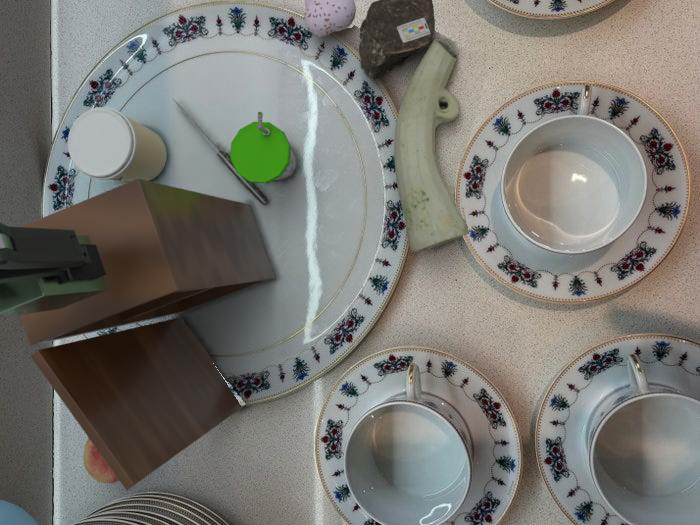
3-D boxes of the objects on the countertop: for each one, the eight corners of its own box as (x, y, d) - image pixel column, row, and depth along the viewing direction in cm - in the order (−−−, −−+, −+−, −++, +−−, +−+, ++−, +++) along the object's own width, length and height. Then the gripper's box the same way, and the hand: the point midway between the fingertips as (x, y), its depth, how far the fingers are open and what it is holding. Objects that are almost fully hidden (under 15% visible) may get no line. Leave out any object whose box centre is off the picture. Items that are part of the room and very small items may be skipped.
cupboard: (276, 277, 94) (177, 290, 61) (177, 313, 97) (30, 345, 64) (250, 204, 95) (138, 178, 62) (152, 242, 97) (-7, 237, 64)
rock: (427, -15, 87) (451, 42, 86) (408, 13, 93) (430, 65, 93) (357, 5, 84) (381, 63, 83) (343, 32, 90) (366, 86, 90)
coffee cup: (100, 160, 99) (51, 148, 87) (138, 110, 97) (94, 91, 86) (146, 200, 97) (103, 193, 86) (185, 150, 96) (146, 136, 85)
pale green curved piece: (404, 254, 91) (477, 246, 90) (405, 254, 83) (486, 245, 82) (381, 49, 91) (454, 40, 90) (380, 29, 83) (461, 18, 82)
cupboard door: (211, 432, 96) (82, 526, 63) (147, 345, 98) (-13, 392, 65) (246, 404, 95) (134, 484, 62) (181, 316, 97) (37, 349, 64)
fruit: (96, 425, 99) (65, 440, 91) (142, 411, 98) (115, 425, 90) (112, 476, 99) (82, 495, 91) (158, 462, 98) (131, 481, 90)
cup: (276, 202, 94) (242, 192, 79) (243, 159, 95) (203, 142, 80) (319, 166, 93) (292, 150, 78) (285, 123, 94) (252, 99, 79)
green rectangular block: (108, 289, 57) (44, 296, 48) (58, 309, 58) (-15, 319, 49) (89, 235, 57) (21, 231, 48) (39, 255, 58) (-36, 255, 49)
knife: (173, 103, 97) (164, 98, 94) (180, 96, 96) (171, 91, 93) (264, 207, 95) (258, 205, 92) (271, 200, 94) (265, 198, 91)
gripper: (-75, 148, 32) (146, 192, 55) (-357, 276, 35) (-35, 268, 58) (-25, 293, 32) (176, 277, 55) (-314, 411, 35) (-8, 349, 58)
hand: (67, 272), depth 57 cm, fingers closed on green rectangular block, 5 cm apart
